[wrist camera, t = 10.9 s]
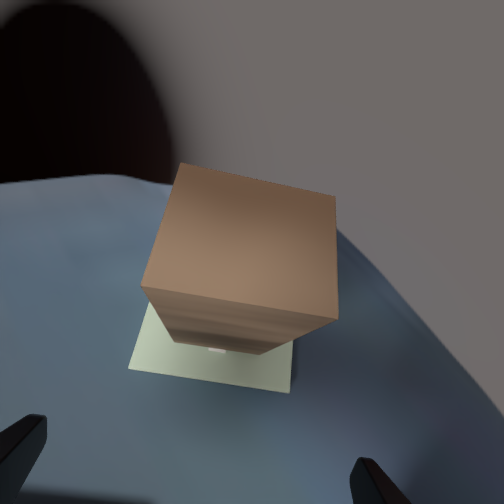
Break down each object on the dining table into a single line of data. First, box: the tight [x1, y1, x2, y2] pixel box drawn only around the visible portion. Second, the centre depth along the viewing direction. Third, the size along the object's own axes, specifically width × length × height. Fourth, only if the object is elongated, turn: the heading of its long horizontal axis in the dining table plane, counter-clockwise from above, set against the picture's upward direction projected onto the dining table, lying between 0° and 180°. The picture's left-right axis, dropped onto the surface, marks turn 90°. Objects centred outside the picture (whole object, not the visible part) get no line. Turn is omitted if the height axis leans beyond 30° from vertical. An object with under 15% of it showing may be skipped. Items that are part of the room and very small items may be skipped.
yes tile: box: [128, 302, 293, 393], centre depth 17 cm, size 8×9×1 cm
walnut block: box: [140, 163, 339, 355], centre depth 12 cm, size 4×5×10 cm
